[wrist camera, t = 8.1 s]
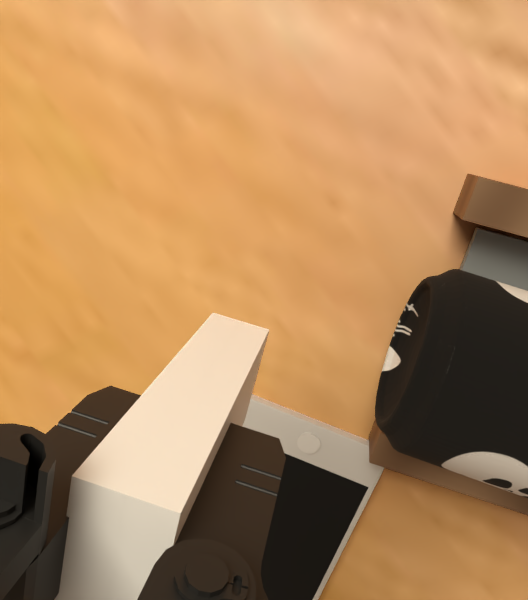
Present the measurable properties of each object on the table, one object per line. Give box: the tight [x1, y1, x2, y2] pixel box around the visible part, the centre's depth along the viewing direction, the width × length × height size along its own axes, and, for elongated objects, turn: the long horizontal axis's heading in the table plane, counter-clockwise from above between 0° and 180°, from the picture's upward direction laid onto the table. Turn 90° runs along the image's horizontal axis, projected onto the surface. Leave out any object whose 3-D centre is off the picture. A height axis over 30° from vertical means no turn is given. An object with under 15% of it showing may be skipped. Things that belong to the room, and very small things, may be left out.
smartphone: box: [242, 394, 384, 600], centre depth 25 cm, size 7×15×1 cm, turn 162°
